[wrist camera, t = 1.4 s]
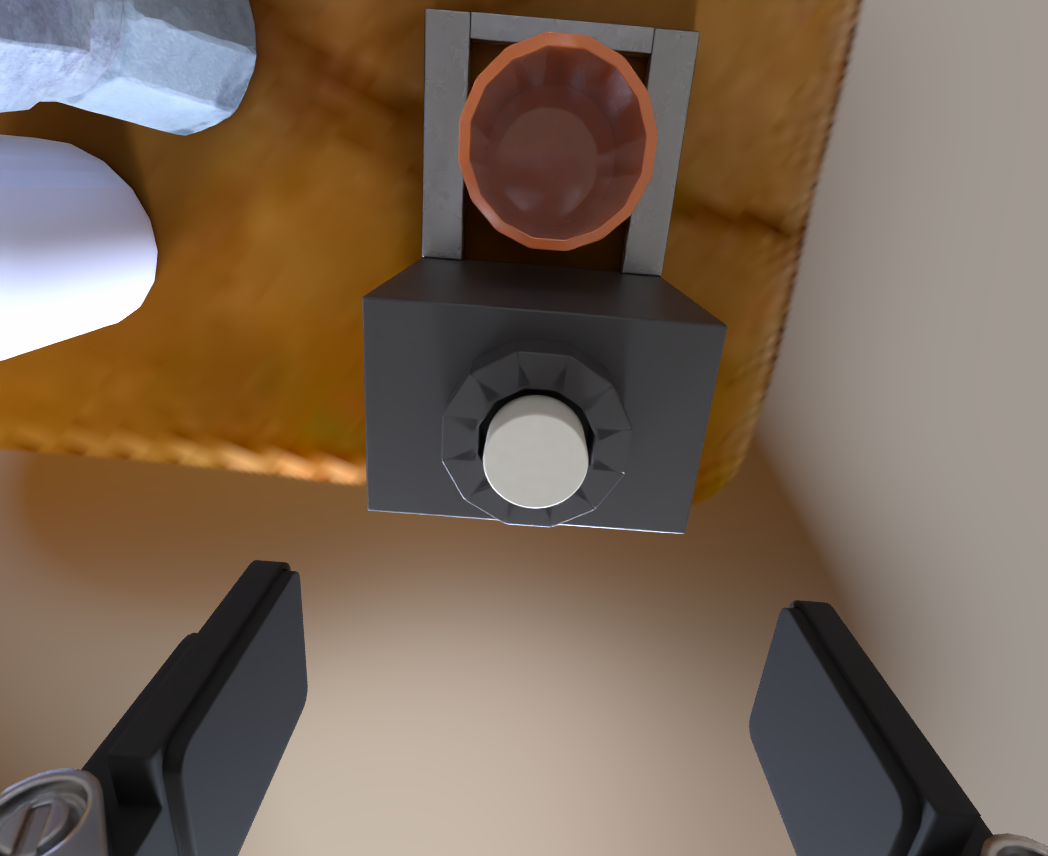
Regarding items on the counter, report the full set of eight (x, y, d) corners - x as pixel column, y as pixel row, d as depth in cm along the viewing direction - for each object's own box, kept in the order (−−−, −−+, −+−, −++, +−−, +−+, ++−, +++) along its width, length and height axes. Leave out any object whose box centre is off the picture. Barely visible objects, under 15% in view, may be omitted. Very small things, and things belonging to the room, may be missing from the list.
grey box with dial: (424, 255, 31) (345, 306, 18) (658, 274, 31) (746, 337, 18) (422, 402, 34) (353, 537, 21) (635, 419, 34) (697, 563, 21)
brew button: (489, 390, 19) (485, 409, 18) (589, 397, 19) (594, 417, 18) (484, 479, 21) (480, 504, 19) (578, 486, 21) (582, 512, 19)
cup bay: (428, 13, 27) (424, 7, 26) (695, 36, 27) (700, 30, 26) (424, 255, 31) (421, 257, 30) (658, 274, 31) (661, 277, 30)
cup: (483, 71, 28) (462, 24, 20) (630, 84, 28) (671, 41, 20) (477, 226, 30) (455, 242, 22) (611, 237, 31) (640, 257, 22)
